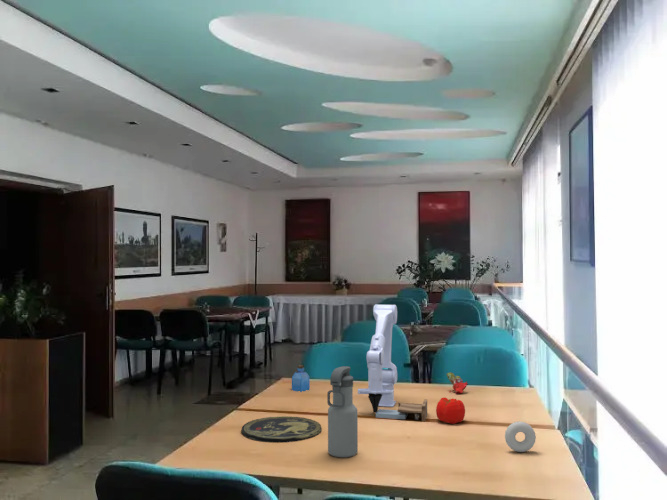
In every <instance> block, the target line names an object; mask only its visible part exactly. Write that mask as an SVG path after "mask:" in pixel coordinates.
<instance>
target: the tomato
mask: <svg viewBox="0 0 667 500" xmlns="http://www.w3.org/2000/svg"><path fill="white" fill-rule="evenodd" d="M435 413H436V418H437V419H438V420H439V421H440V422H443V423H448V424H450V425H455V424H457V423H458V424H459V423H461V422H462V421H464V419H465V416H466V407H465V404H464V402H463V401H462V400H460V399H456V398H447V397H440V399H439V401H438V402H437V404H436V407H435Z"/></svg>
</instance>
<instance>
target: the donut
mask: <svg viewBox="0 0 667 500" xmlns="http://www.w3.org/2000/svg"><path fill="white" fill-rule="evenodd" d="M518 433H523V435H524V439H523V440H521V441H519V440H518V439H517V438H516V436H517V434H518ZM536 436H537V435H536V432H535V430H534V428H533V426H531V425H530V424H529V423H527V422H524V421H520V420H519V421H515V422H512V423H510V424H509V426H508V427H506V430H505V432H504V439H505V442H506V445H507V447H509V448H510V449H511V450H512V451H515V452H517V453H526V452H527V451H530V450H531V449H532V448H533V447H534V445H535V444H536V439H537V438H536Z"/></svg>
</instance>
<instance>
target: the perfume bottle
mask: <svg viewBox="0 0 667 500" xmlns="http://www.w3.org/2000/svg"><path fill="white" fill-rule="evenodd" d="M296 369H297V371H295V372H294V373H293V375H292V377H291V391H292V390H293V392H298V391H300V393H302V391H303V392H307V391H310V390H311V389H310V388H311V387H310V385H311V384H310V383H311V381H310V379H311V378H310V376H309V374H308V373H307V372H306V371H305V365H303V364H302V365H301V364H298V365H297V368H296ZM309 389H310V390H309ZM306 390H307V391H306Z"/></svg>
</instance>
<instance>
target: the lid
mask: <svg viewBox="0 0 667 500" xmlns="http://www.w3.org/2000/svg"><path fill="white" fill-rule="evenodd" d="M408 416H409V415H408V412H398V409H381V408H378V410H377V412H376V413H375V418H379V419H380V418H381V419H396V420H406V419H407V417H408Z"/></svg>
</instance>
